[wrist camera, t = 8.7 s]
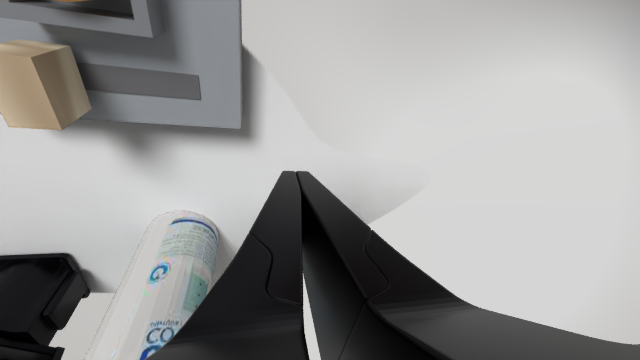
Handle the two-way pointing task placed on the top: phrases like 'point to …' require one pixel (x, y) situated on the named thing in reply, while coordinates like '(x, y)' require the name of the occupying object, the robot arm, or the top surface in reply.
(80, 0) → the push button
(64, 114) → the slider knob
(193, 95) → the control panel
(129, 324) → the spray can
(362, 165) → the top surface
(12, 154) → the top surface
